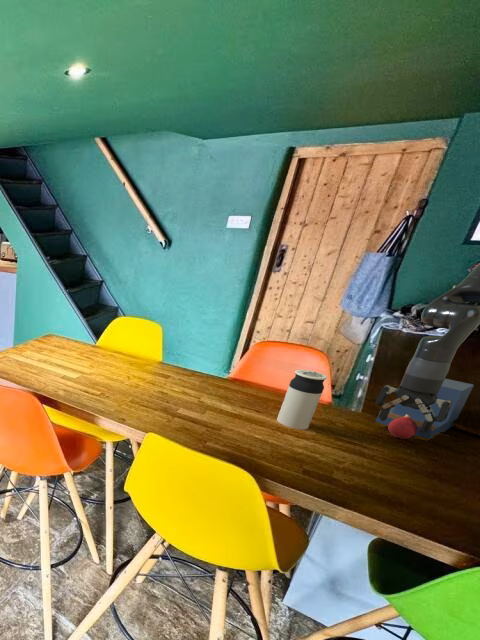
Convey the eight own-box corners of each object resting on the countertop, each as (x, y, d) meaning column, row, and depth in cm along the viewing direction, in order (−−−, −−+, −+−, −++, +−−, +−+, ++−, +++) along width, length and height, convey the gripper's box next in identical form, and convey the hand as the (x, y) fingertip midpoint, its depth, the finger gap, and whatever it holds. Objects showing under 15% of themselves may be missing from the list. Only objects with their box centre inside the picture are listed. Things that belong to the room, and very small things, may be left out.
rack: (402, 411, 137) (419, 372, 132) (453, 425, 127) (474, 384, 122) (373, 425, 127) (390, 384, 122) (426, 442, 117) (447, 398, 112)
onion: (412, 440, 119) (425, 416, 116) (408, 446, 116) (420, 421, 113) (386, 432, 123) (397, 409, 120) (381, 437, 120) (392, 413, 117)
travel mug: (313, 431, 124) (335, 377, 117) (294, 434, 122) (315, 379, 115) (287, 419, 131) (306, 368, 124) (269, 422, 129) (288, 370, 122)
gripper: (467, 379, 108) (441, 433, 114) (396, 364, 119) (375, 413, 125) (458, 384, 104) (431, 439, 110) (385, 368, 116) (365, 418, 122)
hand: (401, 425), depth 118 cm, fingers open, 8 cm apart
